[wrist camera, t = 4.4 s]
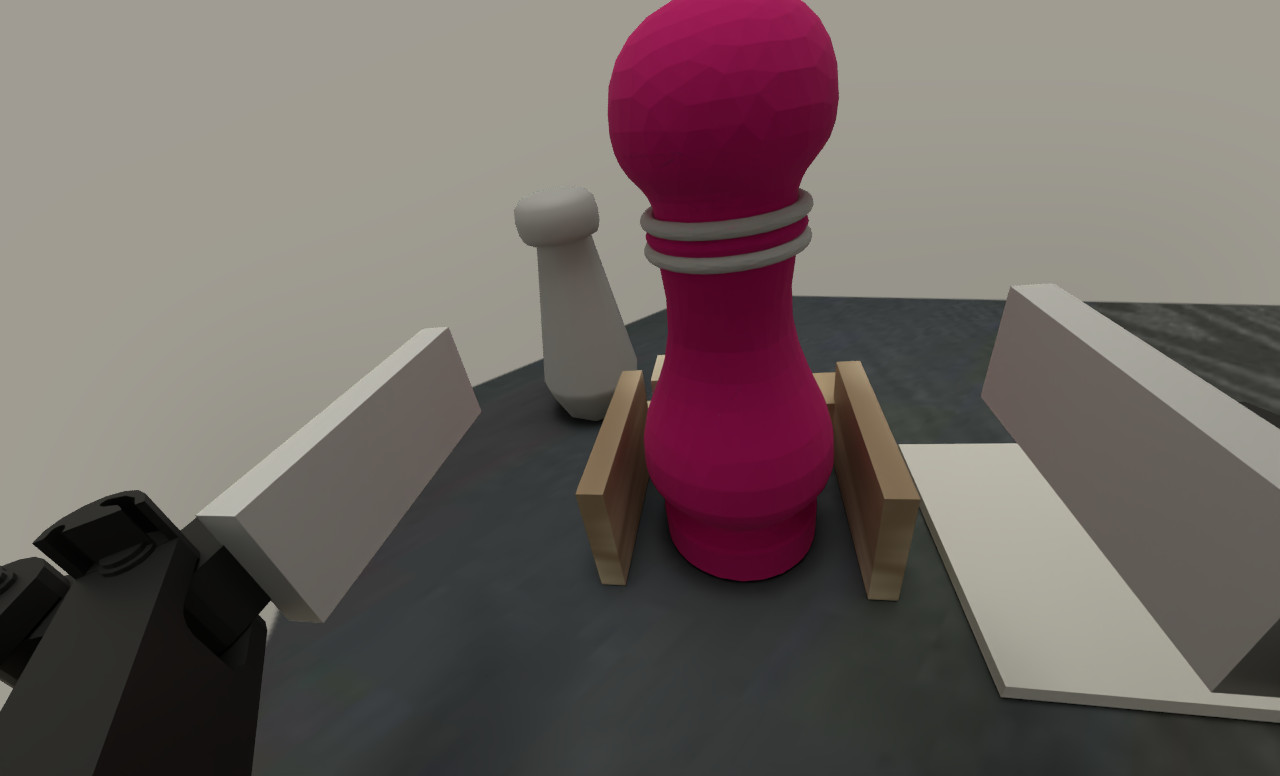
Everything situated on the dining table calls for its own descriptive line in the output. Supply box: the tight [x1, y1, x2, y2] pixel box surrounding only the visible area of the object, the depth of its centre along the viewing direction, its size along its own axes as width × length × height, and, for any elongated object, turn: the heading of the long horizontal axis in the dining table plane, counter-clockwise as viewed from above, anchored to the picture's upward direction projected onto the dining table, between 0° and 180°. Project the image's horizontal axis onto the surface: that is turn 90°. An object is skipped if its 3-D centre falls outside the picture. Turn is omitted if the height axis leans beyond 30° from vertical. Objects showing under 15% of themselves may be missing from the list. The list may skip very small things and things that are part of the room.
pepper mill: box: [608, 0, 839, 581], centre depth 16 cm, size 7×7×20 cm
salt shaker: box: [514, 186, 637, 421], centre depth 28 cm, size 6×6×13 cm
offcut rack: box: [575, 355, 921, 601], centre depth 22 cm, size 11×11×5 cm
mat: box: [898, 444, 1280, 723], centre depth 17 cm, size 11×11×1 cm
